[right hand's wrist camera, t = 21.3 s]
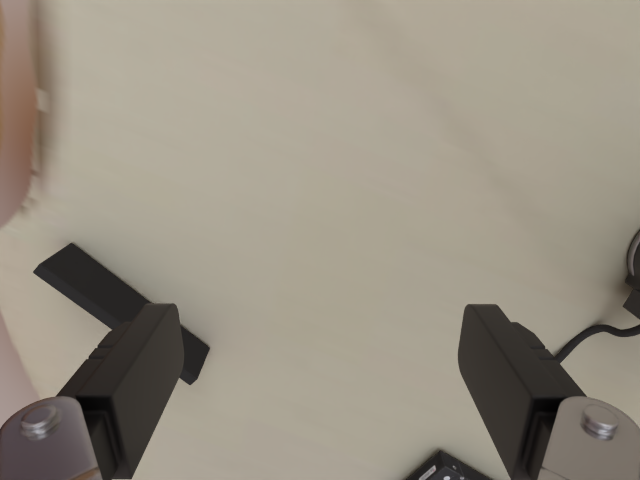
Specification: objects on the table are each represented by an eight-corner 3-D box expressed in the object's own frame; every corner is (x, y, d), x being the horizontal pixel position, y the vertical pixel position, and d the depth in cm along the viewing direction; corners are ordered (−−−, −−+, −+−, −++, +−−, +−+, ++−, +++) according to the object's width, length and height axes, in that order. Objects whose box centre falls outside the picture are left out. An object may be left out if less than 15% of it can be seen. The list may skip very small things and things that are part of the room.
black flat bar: (64, 250, 40) (31, 273, 36) (71, 242, 40) (39, 263, 35) (202, 354, 45) (189, 386, 40) (210, 347, 45) (197, 379, 40)
